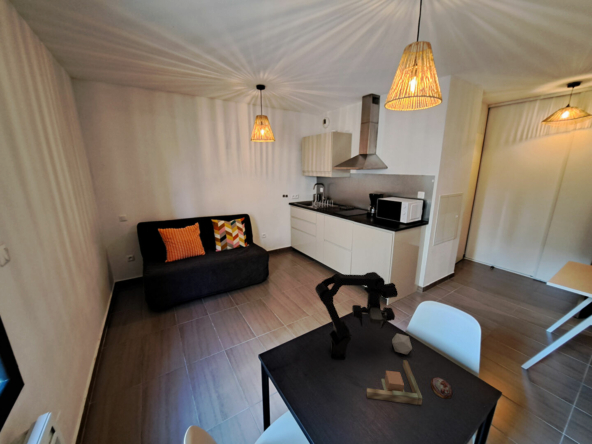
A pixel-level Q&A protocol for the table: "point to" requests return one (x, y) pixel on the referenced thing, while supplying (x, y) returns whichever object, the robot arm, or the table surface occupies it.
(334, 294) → the robot arm
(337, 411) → the table surface
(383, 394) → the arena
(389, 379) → the cube
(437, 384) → the pastry
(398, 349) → the die
